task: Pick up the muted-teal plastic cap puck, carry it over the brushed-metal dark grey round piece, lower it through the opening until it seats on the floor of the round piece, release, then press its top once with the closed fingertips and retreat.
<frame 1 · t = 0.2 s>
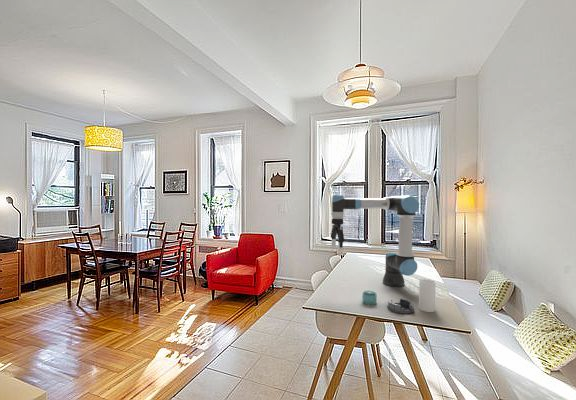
hand: (336, 250, 189), 28 cm above the table, fingers open, 13 cm apart
cup: (426, 309, 162), on the table
dark grey round piece: (400, 309, 162), on the table
cap: (369, 302, 171), on the table
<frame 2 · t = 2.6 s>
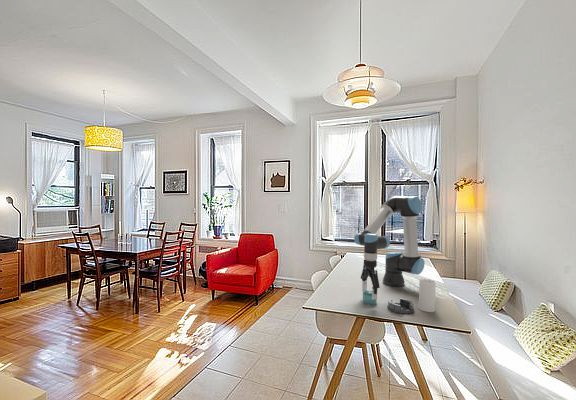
hand: (369, 295, 171), 4 cm above the table, fingers open, 13 cm apart
nothing on the table moved.
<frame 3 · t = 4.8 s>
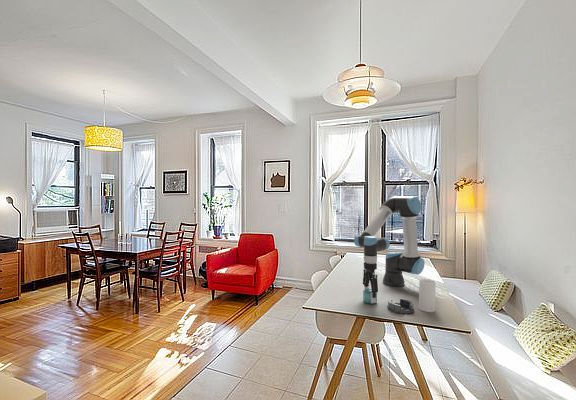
hand: (369, 300, 172), 1 cm above the table, fingers closed on cap, 8 cm apart
cap: (369, 300, 172), point 1 cm above the table, touching gripper
everything else where it was.
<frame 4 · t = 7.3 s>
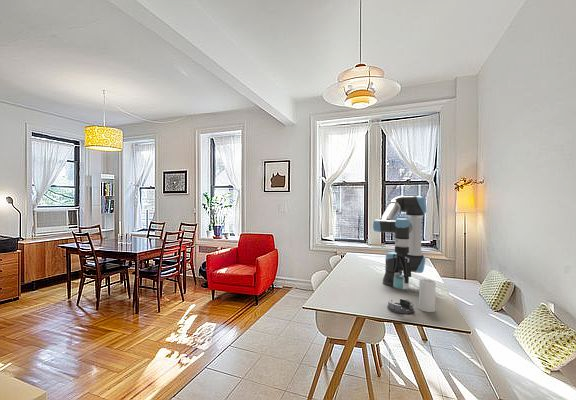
hand: (401, 286, 162), 13 cm above the table, fingers closed on cap, 8 cm apart
cap: (400, 286, 162), point 13 cm above the table, touching gripper
everything else where it was.
when the fingers open (2 cm above the table, at t = 9.6 s): cap stays where it is, resting on dark grey round piece.
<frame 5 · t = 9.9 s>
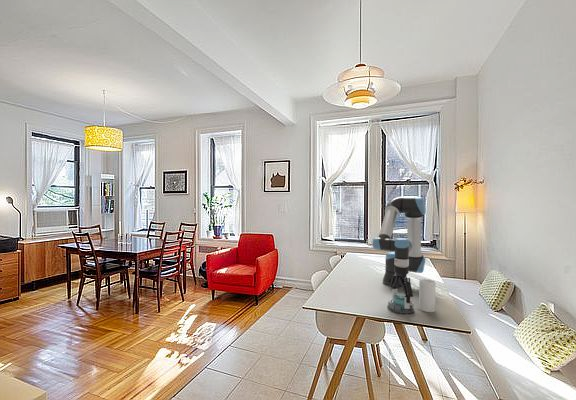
hand: (400, 304, 162), 3 cm above the table, fingers open, 12 cm apart
cap: (400, 307, 162), point 1 cm above the table, touching dark grey round piece
everything else where it was.
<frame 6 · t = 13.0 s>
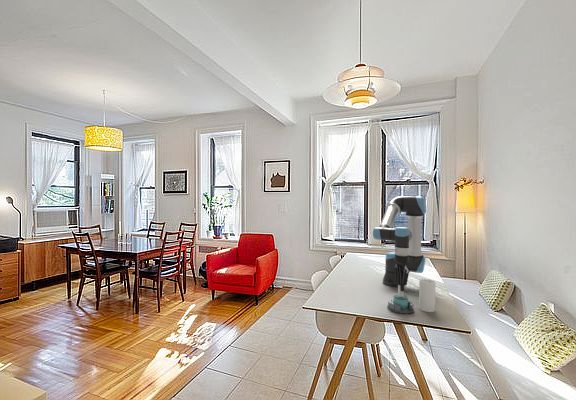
hand: (400, 296, 162), 7 cm above the table, fingers closed
cap: (400, 307, 162), point 1 cm above the table, touching dark grey round piece, gripper
everything else where it was.
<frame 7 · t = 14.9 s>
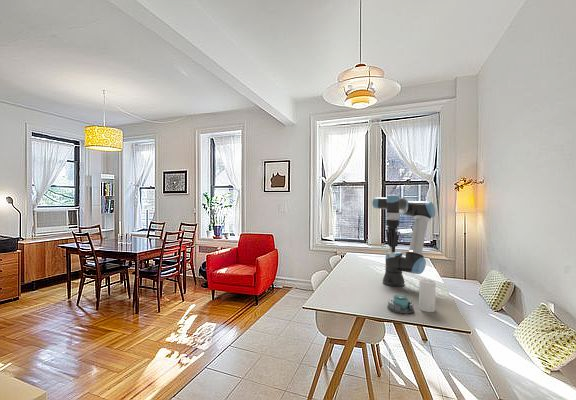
hand: (392, 256, 180), 26 cm above the table, fingers closed
cap: (400, 307, 162), point 1 cm above the table, touching dark grey round piece
everything else where it was.
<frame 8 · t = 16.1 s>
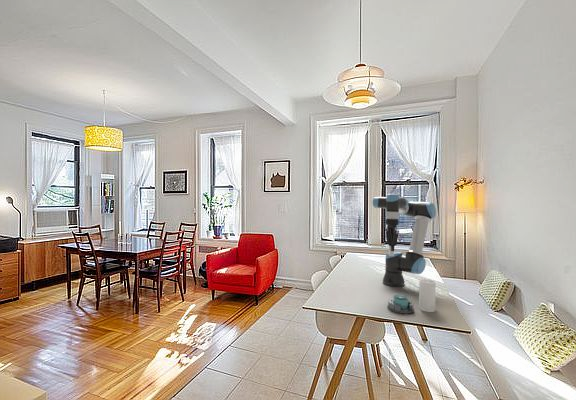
hand: (391, 255, 180), 26 cm above the table, fingers closed
nothing on the table moved.
at the end: cap 0.1 cm off-centre on the dark grey round piece, point 1.0 cm above the dark grey round piece's base; cap tilted 0°; the gripper is holding nothing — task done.
